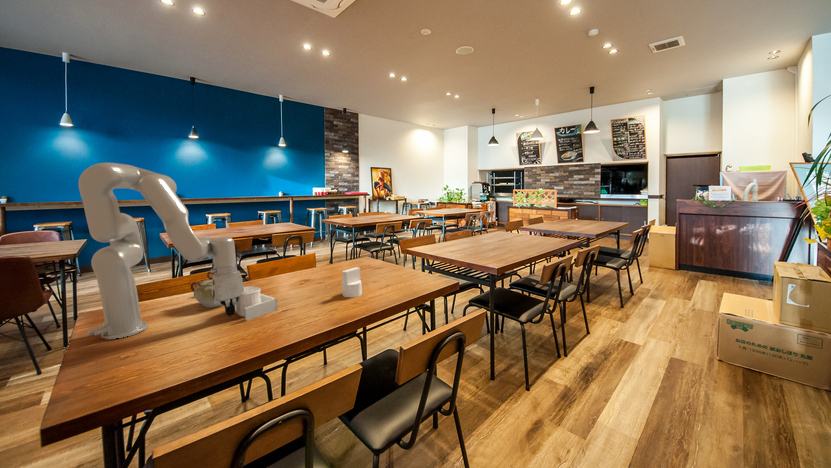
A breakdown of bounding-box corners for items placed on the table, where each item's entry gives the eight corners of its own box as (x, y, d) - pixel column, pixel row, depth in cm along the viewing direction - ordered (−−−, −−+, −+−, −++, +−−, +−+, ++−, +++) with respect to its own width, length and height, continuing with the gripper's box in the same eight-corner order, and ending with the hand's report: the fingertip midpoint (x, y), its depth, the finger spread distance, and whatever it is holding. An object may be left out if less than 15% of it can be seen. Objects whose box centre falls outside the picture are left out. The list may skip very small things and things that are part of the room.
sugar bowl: (181, 311, 135) (176, 276, 133) (203, 298, 150) (200, 267, 148) (228, 310, 135) (224, 276, 133) (246, 298, 150) (243, 266, 148)
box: (246, 321, 125) (245, 308, 124) (227, 312, 133) (226, 301, 132) (277, 309, 135) (276, 298, 134) (257, 303, 144) (256, 292, 143)
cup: (251, 318, 127) (249, 294, 126) (230, 316, 130) (227, 292, 128) (267, 308, 137) (265, 286, 135) (247, 307, 139) (245, 285, 137)
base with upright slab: (351, 298, 147) (350, 273, 145) (338, 294, 153) (337, 270, 151) (365, 293, 154) (364, 268, 153) (352, 289, 160) (351, 266, 158)
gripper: (209, 275, 116) (214, 324, 119) (250, 266, 128) (254, 310, 131) (199, 272, 120) (205, 319, 123) (240, 264, 132) (244, 306, 135)
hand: (230, 314), depth 127 cm, fingers closed
